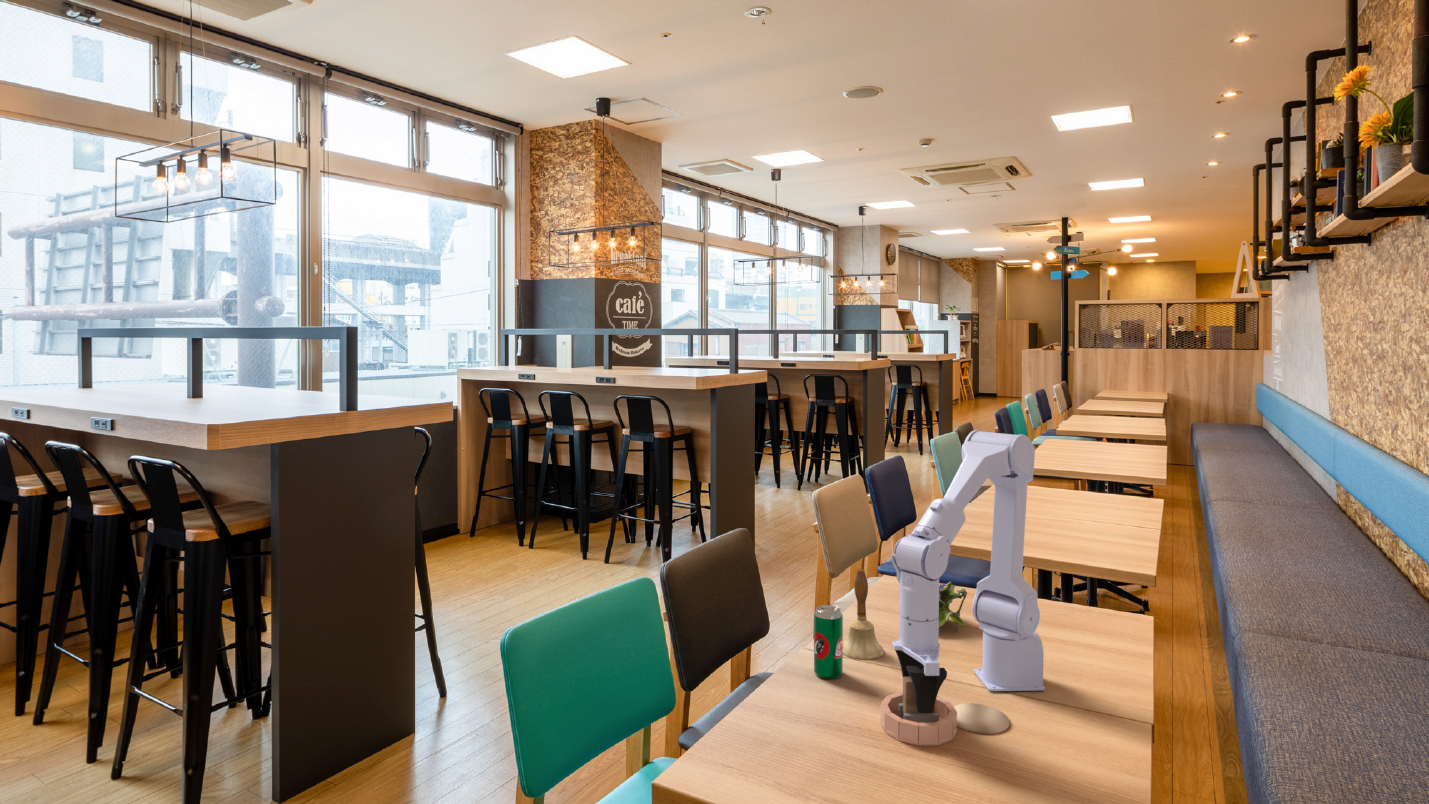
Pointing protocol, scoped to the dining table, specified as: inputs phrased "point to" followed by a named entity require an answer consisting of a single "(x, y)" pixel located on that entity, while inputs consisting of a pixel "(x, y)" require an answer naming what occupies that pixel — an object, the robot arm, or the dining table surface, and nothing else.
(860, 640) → the hand bell
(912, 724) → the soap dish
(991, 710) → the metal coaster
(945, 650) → the dining table surface
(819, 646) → the soda can
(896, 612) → the dining table surface
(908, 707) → the brown rectangular block
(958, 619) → the green leafy plant
